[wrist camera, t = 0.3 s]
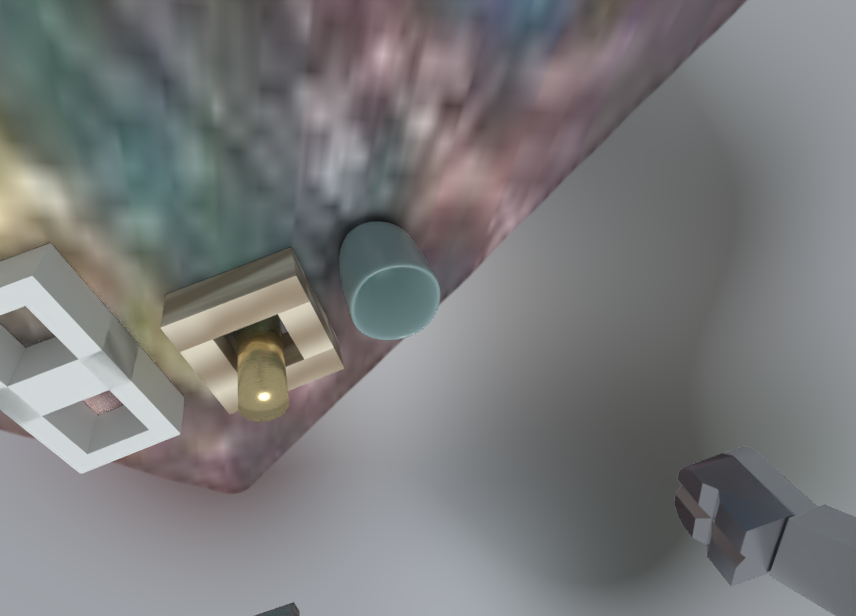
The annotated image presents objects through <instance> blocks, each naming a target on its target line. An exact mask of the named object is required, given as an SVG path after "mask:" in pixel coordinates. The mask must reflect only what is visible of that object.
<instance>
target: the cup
mask: <svg viewBox="0 0 856 616" xmlns="http://www.w3.org/2000/svg"><path fill="white" fill-rule="evenodd" d="M339 275H340V281H341V285H342V289H343V293H344V297H345V301H346V304H347V308H348V311H349V314H350V317H351V319H352V321H353V323H354V325H355V326H356V328H357V329H358V330H359V331H360V332H361V333H363V334H365V335H366V336H369V337H372V338H375V339H381V340H395V339H401V338H405V337H409V336H411V335H413V334H416V333H417V332H419V331H420V330H422V329H424V328H425V327H426V326H427V325H428V324H429V323H430V321H431V320H432V318H433V317H434V315H435V313H436V311H437V309H438V305H439V302H440V287H439V283H438V280H437V278H436V275H435V273H434V271H433V269H432V268H431V266H430V264H429V262H428V261H427V259H426V257H425V255H424V254H423V252H422V251H421V249H420V248H419V246H418V245H417V243H416V242H415V241H414V239H413V238H412V237H411V236H410V235H409V234H408V233H407V232H406V231H404V230H403V229H402V228H401V227H399V226H396V225H394V224H392V223H388V222H383V221H372V222H367V223H363V224H361V225H358V226H357V227H355V228H354V229H352V230H351V231H350V232H349V233H348V234H347V235H346V237H345V239H344V240H343V243H342V246H341V248H340V253H339Z"/></svg>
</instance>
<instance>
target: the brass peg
mask: <svg viewBox="0 0 856 616" xmlns="http://www.w3.org/2000/svg"><path fill="white" fill-rule="evenodd" d="M237 363H238V410H239V412H240V414H241V415H242V416H243V417H245V418H246V419H248V420H251V421H255V422H266V421H271V420H274V419H276V418H278V417H280V416H281V415H283V414H284V413H285V412H286V410H287V409H288V407H289V394H288V386H287V377H286V368H285V359H284V351H283V342H282V333H281V325H280V317H279V315H278V314H277V315H274V316H272V317H269V318H266V319H264V320H261V321H259V322H256V323H254V324H251V325H248V326H246V327H243V328H241V329H238V330H237Z"/></svg>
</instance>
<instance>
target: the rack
mask: <svg viewBox="0 0 856 616" xmlns="http://www.w3.org/2000/svg"><path fill="white" fill-rule="evenodd" d="M24 306H26V307H27V308H28V309H29V310H30V311H31V312H32V313H33V314H34V315H35V316H36V317H37V318H38V319H39V320H40V321H41V322H42V323H43V324H44V325H45V326H46V327H47V328H48V329H49V330H50V331H51V332H52V333H53V334H54V335H55V336H56V337H53V338H51V339H48V340H45V341H43V342H40V343H38V344H35V345H32V346H30V347H27V348H25V347H24V346H23V345H22V344H21V343H20V342H19V341H18V340H17V339H16V338H15V337H13V336H12V335H11V334H10V333H9V332H8V331H7V330H6V329H5V328H4V327H3V326H2V325H1V324H0V410H1V411H3V412H4V413H5V414H6V415H8V416H9V417H10V418H11V419H13V420H14V421H15V422H16V423H18V424H19V425H20V426H21V427H23V428H24V429H25V430H26V431H28V432H29V433H30V434H31V435H33V436H34V437H35V438H36V439H38V440H39V441H40V442H42V443H43V444H44V445H45V446H46V447H48V448H49V449H50V450H51V451H53V452H54V453H55V454H57V455H58V456H59V457H60V458H61V459H63V460H64V461H65V462H66V463H68V464H69V465H70V466H71V467H73V468H74V469H75V470H76V471H78V472H79V473H80V474H82V473H85V472H87V471H89V470H92V469H95V468H97V467H100V466H102V465H104V464H107V463H110V462H112V461H115V460H117V459H120V458H122V457H125V456H127V455H130V454H132V453H135V452H137V451H140V450H142V449H145V448H147V447H150V446H152V445H155V444H157V443H160V442H162V441H165V440H167V439H170V438H172V437H175V436H177V435H180V434H181V427H182V417H183V407H184V397H183V395H182V394H181V393H180V392H179V391H178V390H177V389H176V387H175V386H174V385H173V384H172V383H171V382H170V380H169V379H168V378H167V377H166V376H165V375H164V374H163V372H162V371H161V370H160V369H159V368H158V367H157V365H156V364H155V363H154V362H153V361H152V360H151V358H150V357H149V356H148V355H147V354H146V353H145V352H144V350H143V349H142V348H141V347H140V346H139V345H138V343H137V342H136V341H135V340H134V339H133V338H132V337H131V335H130V334H129V333H128V332H127V331H126V330H125V328H124V327H123V326H122V325H121V324H120V323H119V321H118V320H117V319H116V318H115V317H114V316H113V315H112V313H111V312H110V311H109V310H108V309H107V308H106V306H105V305H104V304H103V303H102V302H101V301H100V300H99V298H98V297H97V296H96V295H95V294H94V293H93V291H92V290H91V289H90V288H89V287H88V286H87V284H86V283H85V282H84V281H83V280H82V279H81V278H80V276H79V275H78V274H77V273H76V272H75V271H74V269H73V268H72V267H71V266H70V265H69V264H68V263H67V261H66V260H65V259H64V258H63V257H62V256H61V254H60V253H59V252H58V251H57V250H56V249H55V247H54V246H53V245H52V244H51V243H49V244H46V245H44V246H41V247H38V248H35V249H33V250H30V251H27V252H25V253H22V254H19V255H16V256H14V257H11V258H8V259H5V260H3V261H0V315H2V314H5V313H8V312H10V311H13V310H16V309H18V308H21V307H24ZM107 390H110V391H111V392H112V393H113V394H114V395H115V396H116V397H117V398H118V399H119V400H120V401H121V402H122V403H123V404H124V405H123V406H121V407H118V408H116V409H113V410H111V411H108V412H105V413H103V414H100V415H97V414H96V413H95V412H94V411H93V410H92V409H91V408H89V407H88V406H87V405H86V404H85V403H84V402H83V401H82V400H84V399H87V398H90V397H92V396H95V395H97V394H100V393H102V392H105V391H107Z"/></svg>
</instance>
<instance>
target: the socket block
mask: <svg viewBox="0 0 856 616" xmlns="http://www.w3.org/2000/svg"><path fill="white" fill-rule="evenodd" d="M277 314H278V315H279V317H280V319H281V321H282V322H283V324H284V326H285V327H286V329H287V331H288V333H285V334H283V335H282V342H283V351H284V359H285V368H286V377H287V386H288V391H289V390H292V389H294V388H297V387H299V386H302V385H304V384H307V383H309V382H312V381H314V380H317V379H319V378H322V377H324V376H327V375H329V374H332V373H334V372H337V371H339V370H342V369H344V364H343V360H342V356H341V352H340V347H339V343H338V339H337V336H336V334H335V332H334V330H333V328H332V327H331V325H330V323H329V321H328V319H327V317H326V315H325V313H324V311H323V309H322V307H321V305H320V303H319V301H318V299H317V297H316V295H315V293H314V291H313V289H312V287H311V285H310V283H309V281H308V279H307V277H306V275H305V273H304V271H303V269H302V267H301V265H300V263H299V261H298V260H297V258H296V256H295V254H294V252H293V250H292V248H291V247H290V248H287V249H285V250H282V251H279V252H277V253H274V254H271V255H269V256H266V257H264V258H261V259H258V260H256V261H253V262H250V263H248V264H245V265H243V266H240V267H237V268H235V269H232V270H229V271H227V272H224V273H222V274H219V275H216V276H214V277H211V278H208V279H206V280H203V281H201V282H198V283H195V284H193V285H190V286H187V287H185V288H182V289H179V290H177V291H174V292H172V293H169V294H166V298H165V304H164V310H163V315H162V321H161V327H160V328H161V329H162V331H163V332H164V333H165V334H166V336H167V337H168V338H169V339H170V341H171V342H172V343H173V344H174V346H175V347H176V348H177V349H178V351H179V352H180V353H181V354H182V355H183V357H184V358H185V359H186V360H187V362H188V363H189V364H190V365H191V367H192V368H193V369H194V370H195V372H196V373H197V374H198V375H199V377H200V378H201V379H202V380H203V382H204V383H205V384H206V385H207V387H208V388H209V389H210V390H211V392H212V393H213V394H214V395H215V397H216V398H217V399H218V400H219V402H220V403H221V404H222V405H223V407H224V408H225V409H226V410H227V412H228V413H229V414H232V413H235V412H237V411H239V410H238V363H237V339H236V338H235V336H234V335H233V333H232V332H233V331H236V330H238V329H241V328H243V327H246V326H248V325H251V324H254V323H256V322H259V321H261V320H264V319H266V318H269V317H272V316H274V315H277Z"/></svg>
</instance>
